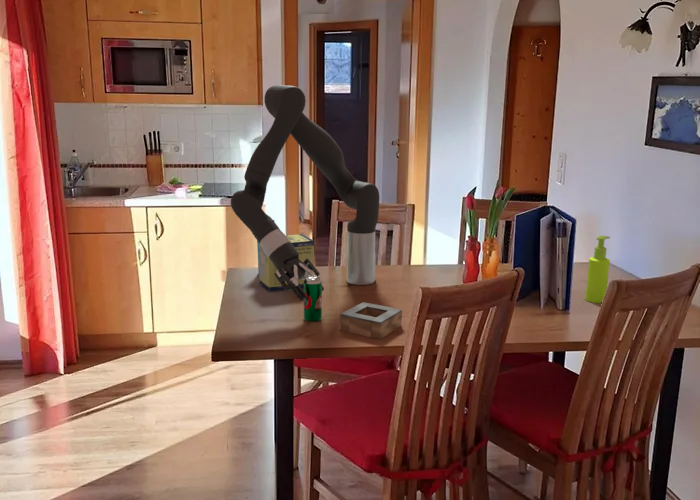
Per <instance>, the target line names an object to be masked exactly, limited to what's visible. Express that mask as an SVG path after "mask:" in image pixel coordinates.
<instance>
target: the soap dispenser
mask: <svg viewBox="0 0 700 500" xmlns="http://www.w3.org/2000/svg"><path fill="white" fill-rule="evenodd" d="M610 238H611V236H606V235H599V236H598V237H596V240H597V241H598V242H597V246H595V247H594V253H593V256H591V257H589V259H588V267H587V268H588V269H587V280H586V289H585V299H584V300H585V301H587V302H589V303H593V304H602V303H601V302H602V300H603V298H604V295H605V292H606V289H607V290H608V281H609V280H608V279H609V271H610V270H609V269H610V261H611V260H610V258H606V256H607V247H606V246H605V240H607V239H610ZM606 293H607V292H606Z"/></svg>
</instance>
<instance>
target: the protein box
mask: <svg viewBox="0 0 700 500" xmlns="http://www.w3.org/2000/svg"><path fill="white" fill-rule="evenodd" d="M286 237H287V238H288V239H289V241H290V242H291V243H292V245H293V246H294V247H295V249H296V250H297V251H298V253H299V260H300V261H302V262H303V261H304V260H306V259H309V260H310V262H311V263H312V264H313V265H314V263H315V240H313V239H311V238H310V237H308V236H306V235H304V234H302V233H301V234H300V233H299V234H290V235H287V234H286ZM277 270H278V269H277V268H276V267H275V266H274V264H273V263H272V261H271V260H270V259H269V257H268V256H267V255H266V253H265V252H264V250H263V248H262V247H261V245H260V243H259V272H258V275H259V277H258V278H259V280H258V281H259V285H260V286H262V287H263V288H264V289H266V290H267V291H268V292H269V293H270V292H280V291H286V290H285V289H284V288H283V286H282V285H281V283H280V282H279V280H278V279H277V277H276V276H275V272H276V271H277ZM311 272H312V273H314V271H313V270H312V271H311ZM306 273H307V272H306V271H305V274H306ZM314 274H315V273H314ZM308 277H309V276H308ZM297 281H298V286H300V288H301V289H304V281H305V280H303V279H298V280H297ZM285 283H286V285H287V282H286V281H285Z"/></svg>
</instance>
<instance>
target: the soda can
mask: <svg viewBox="0 0 700 500" xmlns="http://www.w3.org/2000/svg"><path fill="white" fill-rule="evenodd" d="M322 286H323V281H322V279H321V277H320V276H318V277H317V276H309V277H306V278H305V281H304V288H303V292H304V293H305V294H306V298H305V299H304V300H303V319H304V320H305V321H306V322H307V323H308V322H309V323H310V322H311V323H316V322H320V321H321V320H322V319H323V291H322Z"/></svg>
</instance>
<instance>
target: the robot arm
mask: <svg viewBox="0 0 700 500" xmlns="http://www.w3.org/2000/svg"><path fill="white" fill-rule="evenodd" d="M263 101H264V105H265V108H266V110H267V111H268V113H269V114H270V115H271V117H273V118H274V120H273V123H272V125H271V126H270V128H269V130H268V132H267V133H266V135H265V136H264V138H262V140H261V141H260V142H259V144H258V145H257V147H256V148H255V149H254V151H253V153H252V155H251V157H250V159H249V161H248V164H247V167H246V170H245V171H244V172H245V173H244V181H245V185H244V188H243V190H237V191H236V192H234V193H233V194H232V196H231V198H230V207H231V209H232V211H233V212H234V214H235V216H237V218H239V220H240V221H241V222H242V224H244V226H246V227H247V228H248V229H249V231H250V232H251V234H252V235H253V237H254V239H255V240H256V242H257V241H258V242H259V243H260V245H261V247H262V248H263V250H264V252H265V253H266V255H267V256H268V257H269V259H270V260H271V261H272V263H273V264H274V266H275V267H276V268H277V269H278V270H277V271H276V272H275V276H276V277H277V279H278V280H279V282H280V283H281V285H282V286H283V288H284V289H285V290H284V291H291V292H292V293H293V294H294V295H295V296H296V297H297V299H298V300H299V301H300V302H303V301H304V299H305V298H306V294H305V293H304V289H303V288H300V286H298V281H297V280H298V279H303V280H305V278H306V277H308V276H317V277H320V275H321V274H320V271H319V270H318V269H317V268H316V267H315V266H314V265H313V264H312V263H311V262H310V260H309V259H306V260H304V261H303V262H302V261H300V260H299V253H298V251H297V250H296V249H295V247H294V246H293V245H292V243H291V242H290V241H289V239H288V238H287V237H286V236H287V234H285V233H284V232H283V231H282V230H281V229H280V228H279V226H278V225H277V223H276V222H275V220H274V219H273V218H272V217H271V216H269V215H268V214H267V213H266V212H265V211H264V209H263V205H264V202H265V198H266V193H267V186H268V183H269V181H270V178H271V175H272V173H273V171H274V168H275V166H276V163H277V161H278V158H279V156H280V154H281V152H282V150H283V147H284V145H285V144H286V142H287V140H288V138H289V137H290V135H291V136H292V138H293V139H294V140H295V141H296V143H297V144H298V145H299V146H300V148H301V149H302V150H303V151H304V153H305V154H306V156H308V158H309V159H310V161H312V162H313V164H314V165H315V166H316V167H317V169H319V170H320V172H321V173H322V174H323V175H324V176H325V178H326V179H327V180H328V181H329V182H330V184H331V185H332V186H333V187H334V189H335V190H336V193H337V194H338V196H339V197H340V199H341V200H342V202H343V203H344V205H346V207H348V208H349V209H353V210H356V213H355V218H354V219H352V220H349V221H348V222H347V226H346V228H347V233H346V235H347V237H346V239H347V240H346V246H347V247H346V282H347V283H348V284H352V285H356V286H357V285H358V286H362V285H363V286H364V285H372V284H373V283H374V282H375V280H376V255H377V254H376V227H377V224H378V220H379V212H380V211H379V209H380V191H379V189H378V187H377V186H376V185H375V184H373V183H370V182H365V181H360V180H359V179H357V178H355V176H354V175H352V173H351V172H350V171H349V170H348V168H347V166H346V162H345V157H344V152H343V150H342V148H341V147H340V146H339V145H338V143H337V142H336V141H335V139H334V138H333V137H332V136H331V135H330V134H329V133H328V132H327V131H326V130H325V129H323V128H322V127H321V126H320V125H318V124H316V123H315V122H314V121H313V120H311V118H309V117H307V116H306V115H305V114H304V110H305V107H306V102H307V101H306V95H305V93H304V91H303V90H302V89H301V88H300V87H297V86H294V85H285V84H277V85H276V84H275V85H272V86H270V87H269V88H268V89H267V90H266V91H265V93H264V99H263ZM273 220H274V221H273ZM312 270H313V271H314V273H312V272H311V271H312ZM305 271H306V272H307V273H306V274H305ZM285 281H286V282H287V285H286V283H285ZM324 290H325V289H324V286H323V285H322V292H323V291H324Z"/></svg>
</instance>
